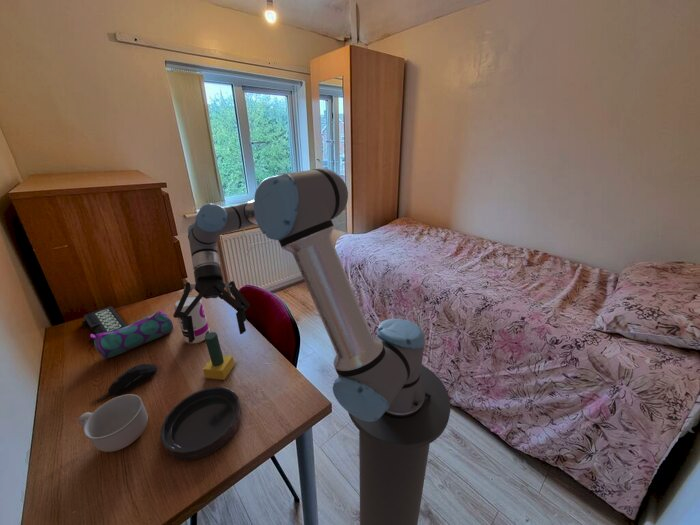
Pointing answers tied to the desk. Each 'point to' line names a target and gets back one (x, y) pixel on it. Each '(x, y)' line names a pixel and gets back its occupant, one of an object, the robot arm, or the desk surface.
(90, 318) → the digital display
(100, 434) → the teacup
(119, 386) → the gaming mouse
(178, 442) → the bowl
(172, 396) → the desk surface
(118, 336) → the pencil case
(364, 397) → the robot arm
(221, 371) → the green peg on stand
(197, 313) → the supplement can
